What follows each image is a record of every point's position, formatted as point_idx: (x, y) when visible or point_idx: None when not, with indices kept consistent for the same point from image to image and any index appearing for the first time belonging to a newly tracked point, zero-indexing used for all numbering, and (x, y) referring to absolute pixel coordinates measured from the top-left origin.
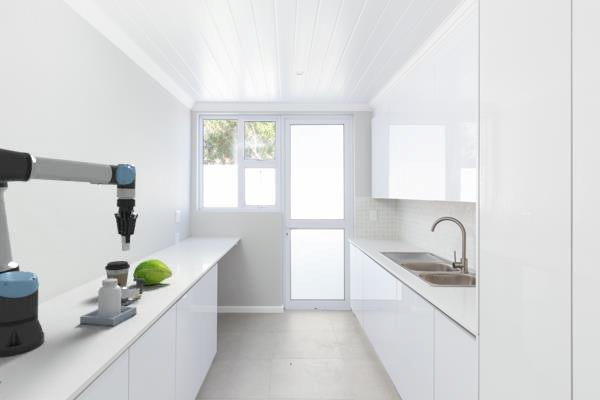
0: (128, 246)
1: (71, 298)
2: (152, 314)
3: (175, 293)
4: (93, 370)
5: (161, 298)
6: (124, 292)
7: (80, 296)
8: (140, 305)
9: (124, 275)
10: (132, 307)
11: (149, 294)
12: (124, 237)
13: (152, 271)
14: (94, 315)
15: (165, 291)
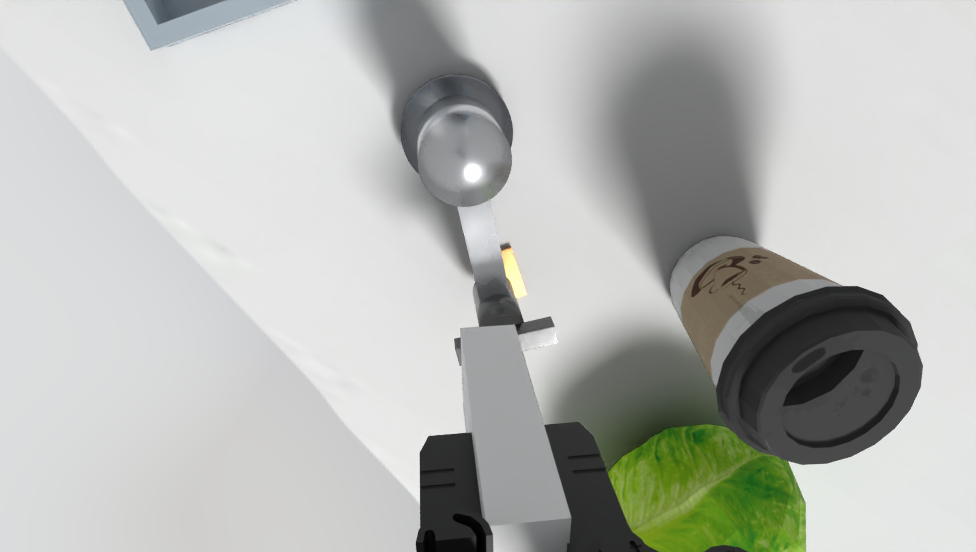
0: (468, 432)
1: (891, 32)
2: (70, 97)
3: (369, 430)
4: None
5: (350, 334)
6: (418, 144)
7: (868, 95)
8: (328, 179)
9: (705, 350)
10: (167, 29)
11: None
12: (485, 507)
13: (635, 515)
14: None
15: (457, 425)
